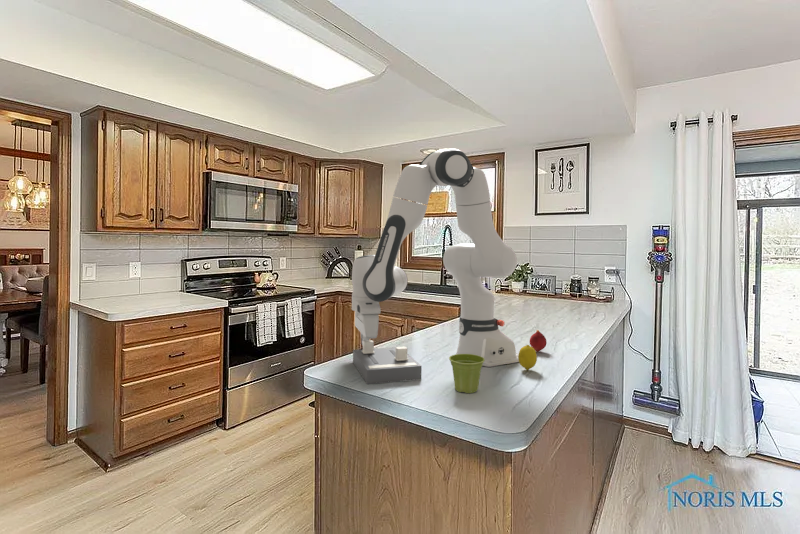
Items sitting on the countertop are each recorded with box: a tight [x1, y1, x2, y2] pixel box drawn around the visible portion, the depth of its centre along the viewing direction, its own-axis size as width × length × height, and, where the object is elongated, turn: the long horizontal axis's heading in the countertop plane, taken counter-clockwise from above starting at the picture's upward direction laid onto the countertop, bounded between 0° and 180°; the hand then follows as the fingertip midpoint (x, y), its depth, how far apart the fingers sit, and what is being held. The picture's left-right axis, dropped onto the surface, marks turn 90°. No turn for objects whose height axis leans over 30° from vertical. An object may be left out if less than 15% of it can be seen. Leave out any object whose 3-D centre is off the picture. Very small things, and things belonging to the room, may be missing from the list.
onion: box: [529, 329, 547, 353], centre depth 156 cm, size 6×6×8 cm
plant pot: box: [448, 354, 485, 394], centre depth 116 cm, size 9×9×9 cm
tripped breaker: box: [362, 339, 375, 354], centre depth 137 cm, size 4×3×4 cm
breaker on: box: [394, 346, 409, 361], centre depth 129 cm, size 4×3×4 cm
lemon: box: [518, 344, 538, 371], centre depth 134 cm, size 6×6×8 cm
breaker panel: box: [352, 346, 422, 385], centre depth 132 cm, size 16×22×4 cm
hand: (365, 345), depth 142 cm, fingers closed
